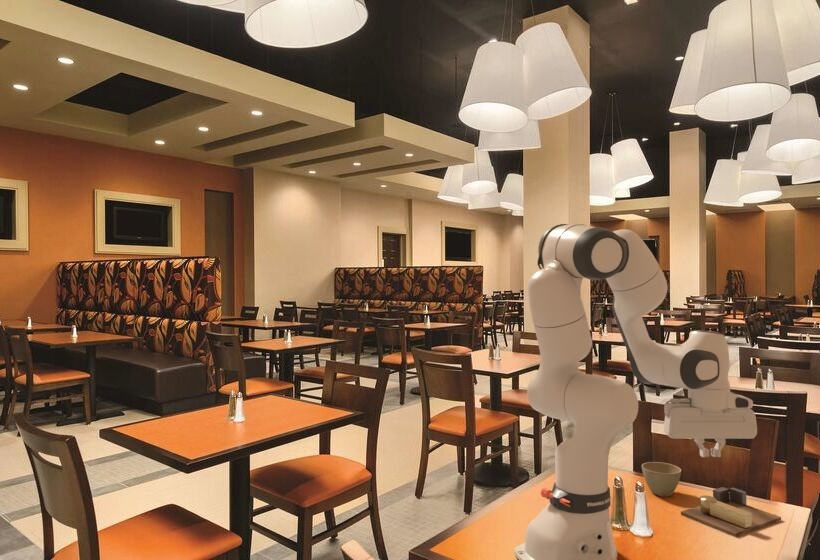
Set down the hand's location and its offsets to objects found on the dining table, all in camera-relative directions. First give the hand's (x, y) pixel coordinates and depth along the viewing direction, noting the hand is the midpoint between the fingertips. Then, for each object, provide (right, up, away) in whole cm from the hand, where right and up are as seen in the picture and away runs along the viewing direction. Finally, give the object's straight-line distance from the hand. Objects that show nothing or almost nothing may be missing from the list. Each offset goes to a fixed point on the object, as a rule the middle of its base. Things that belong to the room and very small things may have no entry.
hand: (710, 456), depth 131 cm
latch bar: (+5, -16, +3) cm, 17 cm away
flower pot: (-1, -18, +22) cm, 28 cm away
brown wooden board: (+8, -17, +6) cm, 20 cm away
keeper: (+12, -16, +12) cm, 23 cm away
